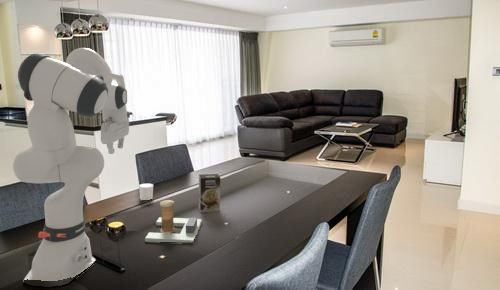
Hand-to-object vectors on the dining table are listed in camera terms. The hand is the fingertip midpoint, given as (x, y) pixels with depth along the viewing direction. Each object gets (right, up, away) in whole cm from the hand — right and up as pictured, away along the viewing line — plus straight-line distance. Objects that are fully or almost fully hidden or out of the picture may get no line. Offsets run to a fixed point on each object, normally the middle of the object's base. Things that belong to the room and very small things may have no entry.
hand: (116, 150), depth 155 cm
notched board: (+23, -32, +2) cm, 39 cm away
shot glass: (+2, -24, +37) cm, 44 cm away
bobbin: (+20, -32, +2) cm, 38 cm away
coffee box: (+34, -28, +26) cm, 51 cm away
